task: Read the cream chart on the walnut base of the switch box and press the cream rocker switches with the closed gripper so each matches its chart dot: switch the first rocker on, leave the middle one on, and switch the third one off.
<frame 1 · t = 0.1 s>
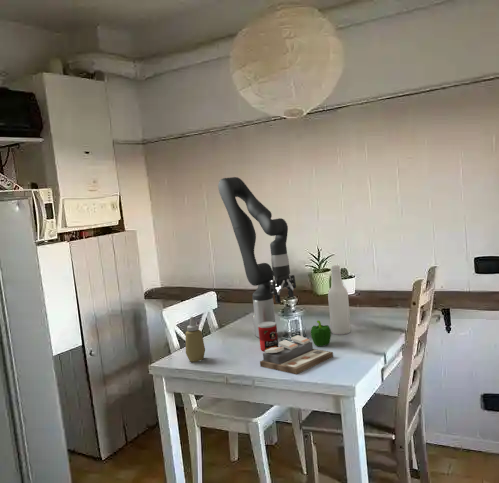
hand: (284, 301, 249), 17 cm above the table, tool pointing down, fingers open, 8 cm apart
squeeze bottle: (196, 360, 234), on the table
canned food: (269, 349, 238), on the table
bell pepper: (322, 345, 237), on the table
switch box: (297, 361, 219), on the table
rocker B: (288, 345, 221), point 6 cm above the table, hinge at 10.0°
alcohol: (341, 332, 253), on the table
rocker A: (274, 350, 216), point 6 cm above the table, hinge at -10.0°
rocker C: (300, 340, 226), point 6 cm above the table, hinge at 10.0°
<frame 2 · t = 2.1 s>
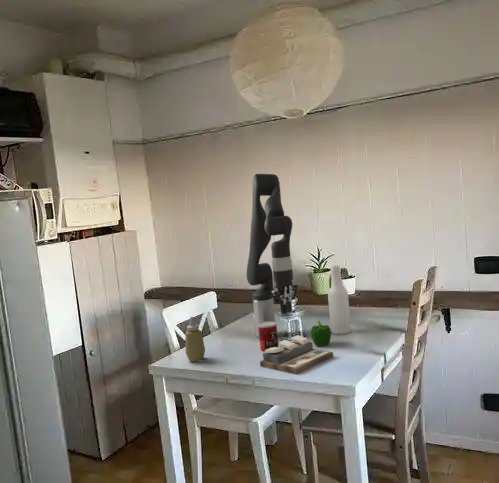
hand: (286, 312, 219), 19 cm above the table, tool pointing down, fingers closed
nothing on the table moved.
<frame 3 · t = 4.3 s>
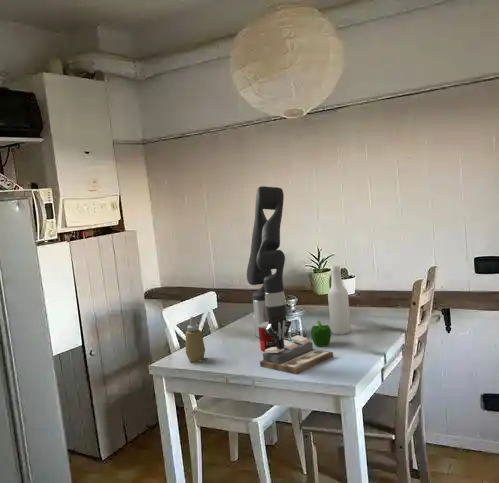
hand: (280, 348, 213), 7 cm above the table, tool pointing down, fingers closed
rocker A: (274, 350, 216), point 6 cm above the table, hinge at -7.2°, touching gripper
everything else where it was.
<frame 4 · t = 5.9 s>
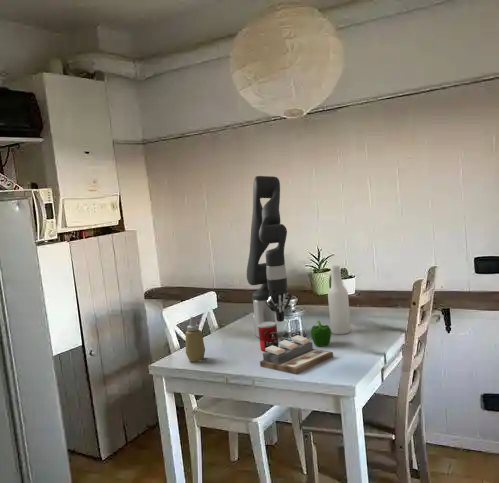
hand: (280, 321, 218), 16 cm above the table, tool pointing down, fingers closed
rocker A: (275, 350, 215), point 6 cm above the table, hinge at 7.3°
everything else where it was.
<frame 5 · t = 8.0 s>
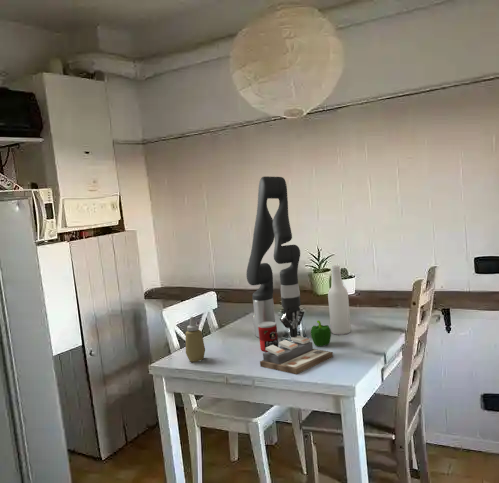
hand: (293, 337, 228), 7 cm above the table, tool pointing down, fingers closed
rocker A: (275, 350, 215), point 6 cm above the table, hinge at 12.9°, touching switch box
rocker C: (300, 340, 226), point 6 cm above the table, hinge at 6.8°, touching gripper
everything else where it was.
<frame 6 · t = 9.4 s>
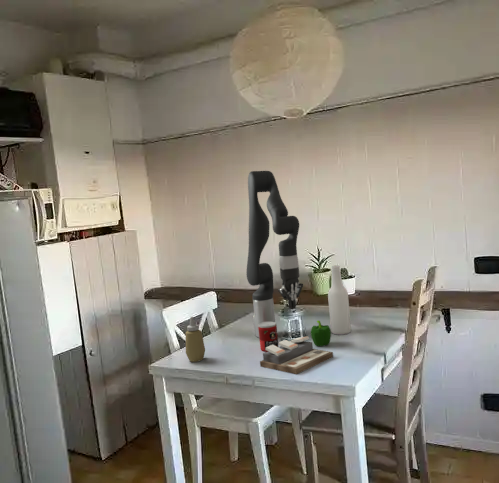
hand: (292, 308, 228), 18 cm above the table, tool pointing down, fingers closed
rocker A: (275, 350, 215), point 6 cm above the table, hinge at 14.2°, touching switch box
rocker C: (299, 340, 226), point 6 cm above the table, hinge at -13.6°, touching switch box
everything else where it was.
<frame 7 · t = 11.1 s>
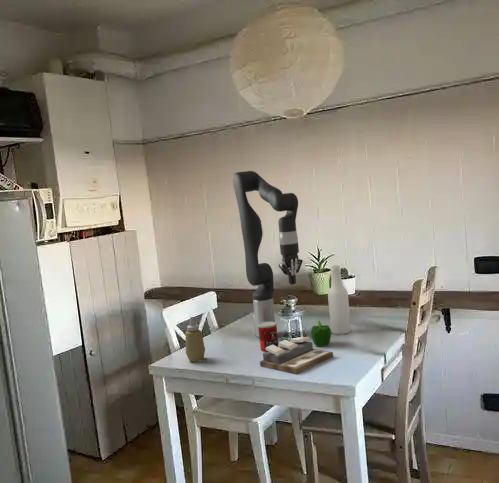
hand: (292, 284, 233), 27 cm above the table, tool pointing down, fingers closed
rocker C: (299, 340, 226), point 6 cm above the table, hinge at -9.1°
everything else where it was.
at the end: rocker A at +14° (first picture: -10°); rocker B at +10° (first picture: +10°); rocker C at -9° (first picture: +10°) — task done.
